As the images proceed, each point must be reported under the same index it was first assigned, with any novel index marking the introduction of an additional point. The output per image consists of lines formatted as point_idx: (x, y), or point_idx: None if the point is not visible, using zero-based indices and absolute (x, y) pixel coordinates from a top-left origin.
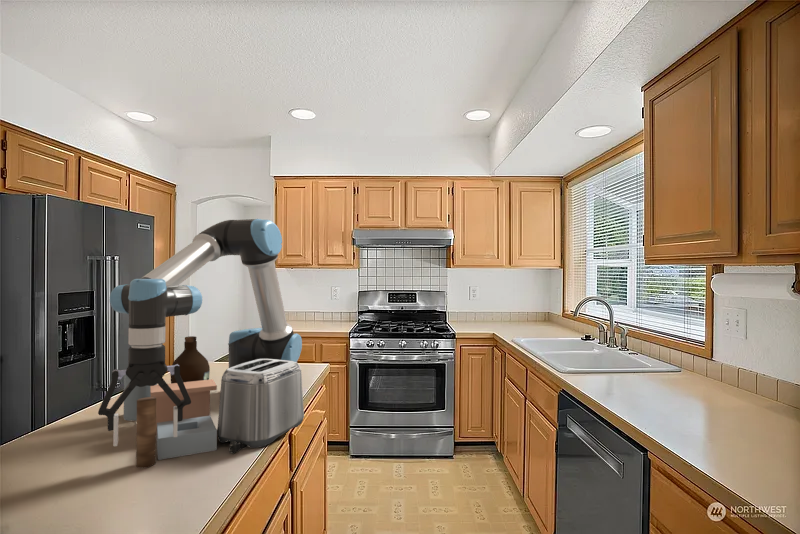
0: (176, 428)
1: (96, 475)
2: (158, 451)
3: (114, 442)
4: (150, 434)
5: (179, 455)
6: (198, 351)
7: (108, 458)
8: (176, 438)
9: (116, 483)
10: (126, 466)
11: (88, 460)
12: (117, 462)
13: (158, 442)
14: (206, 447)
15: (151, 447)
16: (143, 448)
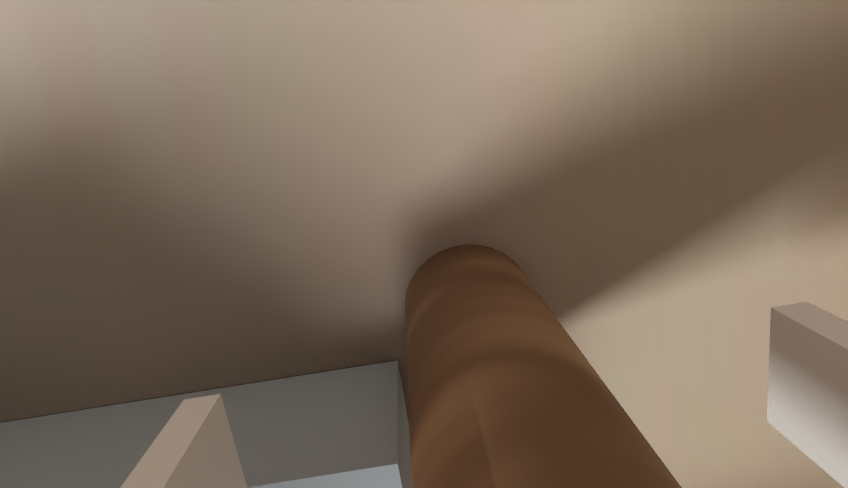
0: (146, 462)
1: (763, 214)
2: (395, 394)
3: (828, 321)
4: (463, 375)
5: (255, 385)
6: None
7: (710, 476)
8: None
9: (627, 13)
10: (591, 310)
11: (819, 477)
12: (652, 396)
13: (395, 441)
14: (49, 431)
15: (437, 313)
16: (507, 298)
